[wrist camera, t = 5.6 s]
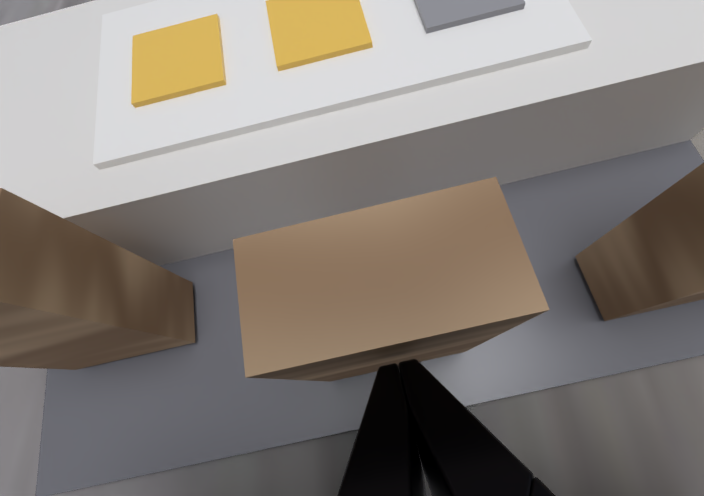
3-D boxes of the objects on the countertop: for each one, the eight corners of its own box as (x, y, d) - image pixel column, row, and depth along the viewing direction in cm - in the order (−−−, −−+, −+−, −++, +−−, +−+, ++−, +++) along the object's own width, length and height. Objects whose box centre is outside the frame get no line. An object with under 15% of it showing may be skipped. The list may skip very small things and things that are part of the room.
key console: (786, 334, 13) (1103, 293, 7) (58, 491, 15) (-185, 567, 8) (578, 1, 20) (656, -166, 14) (85, 126, 21) (-41, 22, 15)
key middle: (465, 351, 13) (549, 309, 6) (330, 381, 14) (245, 377, 6) (444, 285, 14) (495, 176, 7) (318, 314, 14) (232, 238, 7)
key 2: (195, 342, 15) (-17, 298, 7) (75, 369, 15) (-254, 354, 7) (192, 282, 16) (2, 187, 8) (79, 308, 16) (-210, 240, 8)
